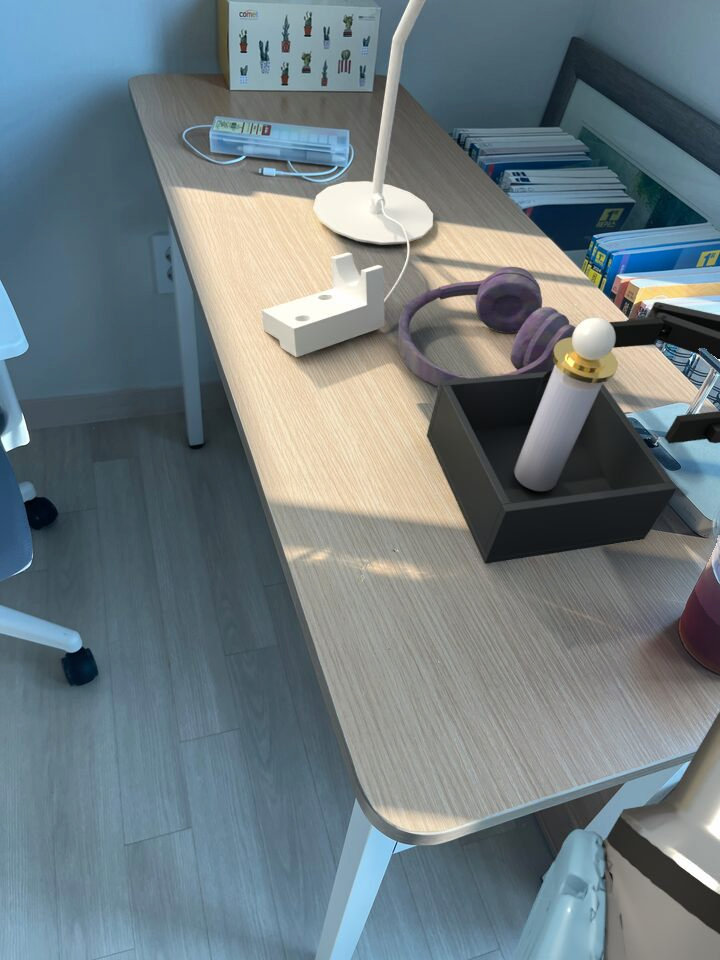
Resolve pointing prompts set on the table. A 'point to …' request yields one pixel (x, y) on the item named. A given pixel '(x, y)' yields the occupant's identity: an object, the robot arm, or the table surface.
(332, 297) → the bracket
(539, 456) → the perfume bottle
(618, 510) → the bin
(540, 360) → the headphones
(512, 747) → the table surface
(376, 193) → the desk lamp
